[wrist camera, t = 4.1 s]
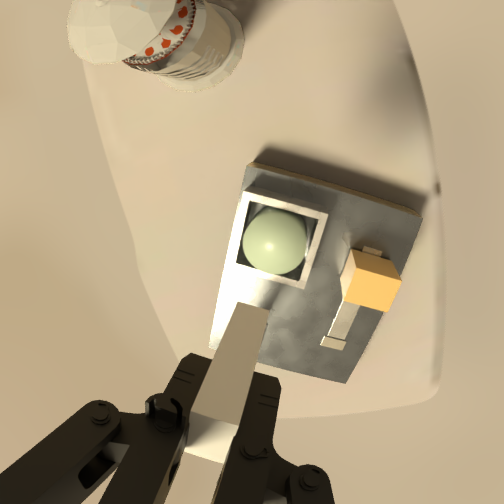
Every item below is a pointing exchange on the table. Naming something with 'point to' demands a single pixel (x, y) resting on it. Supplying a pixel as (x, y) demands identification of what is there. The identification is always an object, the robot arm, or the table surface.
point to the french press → (159, 38)
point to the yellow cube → (369, 281)
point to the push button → (275, 240)
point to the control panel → (312, 271)
